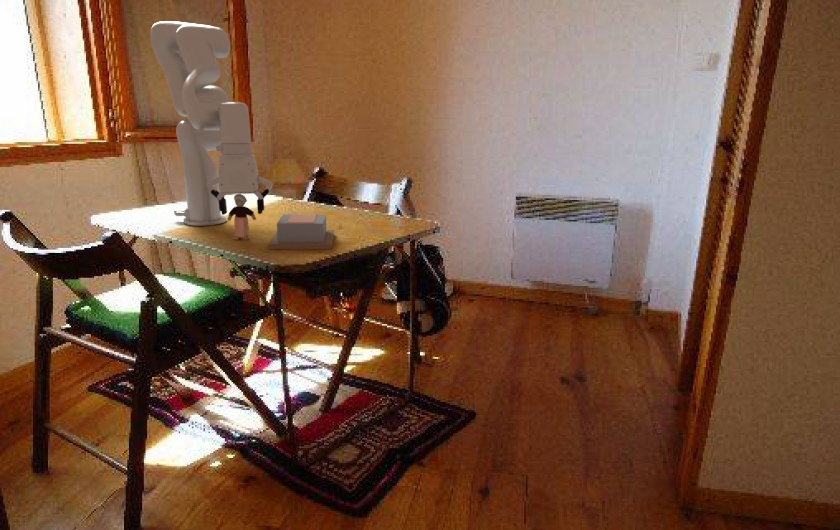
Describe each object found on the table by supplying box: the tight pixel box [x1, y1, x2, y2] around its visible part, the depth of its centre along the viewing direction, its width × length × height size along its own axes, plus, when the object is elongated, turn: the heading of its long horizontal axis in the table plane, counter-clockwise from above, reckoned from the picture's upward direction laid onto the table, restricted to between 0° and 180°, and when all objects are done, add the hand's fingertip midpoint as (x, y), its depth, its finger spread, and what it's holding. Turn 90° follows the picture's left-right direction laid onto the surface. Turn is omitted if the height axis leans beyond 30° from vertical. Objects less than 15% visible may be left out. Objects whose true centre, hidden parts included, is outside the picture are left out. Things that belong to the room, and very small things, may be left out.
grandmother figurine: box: [226, 193, 257, 241], centre depth 150 cm, size 8×4×13 cm, turn 106°
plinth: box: [268, 213, 335, 251], centre depth 149 cm, size 16×16×7 cm
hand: (242, 213), depth 149 cm, fingers open, 9 cm apart
